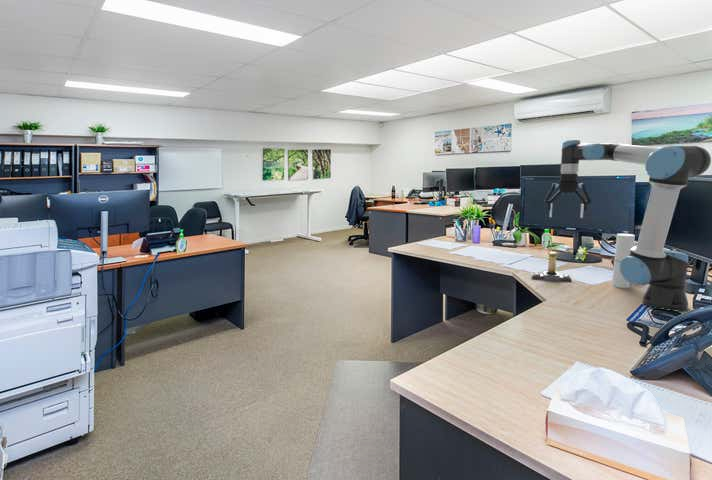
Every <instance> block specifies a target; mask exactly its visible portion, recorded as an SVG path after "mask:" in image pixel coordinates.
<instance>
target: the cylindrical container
mask: <svg viewBox="0 0 712 480" xmlns="http://www.w3.org/2000/svg"><path fill="white" fill-rule="evenodd" d="M635 237H636V235H635V234H632V233H616V238H615V239H616V241H615V248H614V249H615V252H614V258H615V260H614V268H613V272H612V273H613V274H612V281H611V282H612V284H611V286H612V287H616V288H621V289H628V288H630V286H631V283H629V282H627V281H626V280H625V279H624V277H623V275H622V274H621V272H620V263H621V261H622V260H623V259H624V258H625V257H627V256H629V255H630V251H631V248H632V247H634V246H635Z"/></svg>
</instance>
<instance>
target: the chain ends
mask: <svg viewBox="0 0 712 480" xmlns="http://www.w3.org/2000/svg"><path fill="white" fill-rule="evenodd" d="M531 278H532V279H533V280H541V279H542V280H544V281H550V282H551V281H552V282H570V283H571V282H572V276H571V275H569V274H560V273H559V272H558V271H555V275H551V274H548V270H547V271H545V270H544V271H543V273H540V272H532V273H531Z"/></svg>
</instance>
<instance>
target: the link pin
mask: <svg viewBox="0 0 712 480" xmlns="http://www.w3.org/2000/svg"><path fill="white" fill-rule="evenodd" d="M547 255H548V264H547V265H548V267H547V272H548V274H551V275H555V272H556V270H557V269H556V268H557V256H558V252H556V251H549V252H547Z"/></svg>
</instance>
